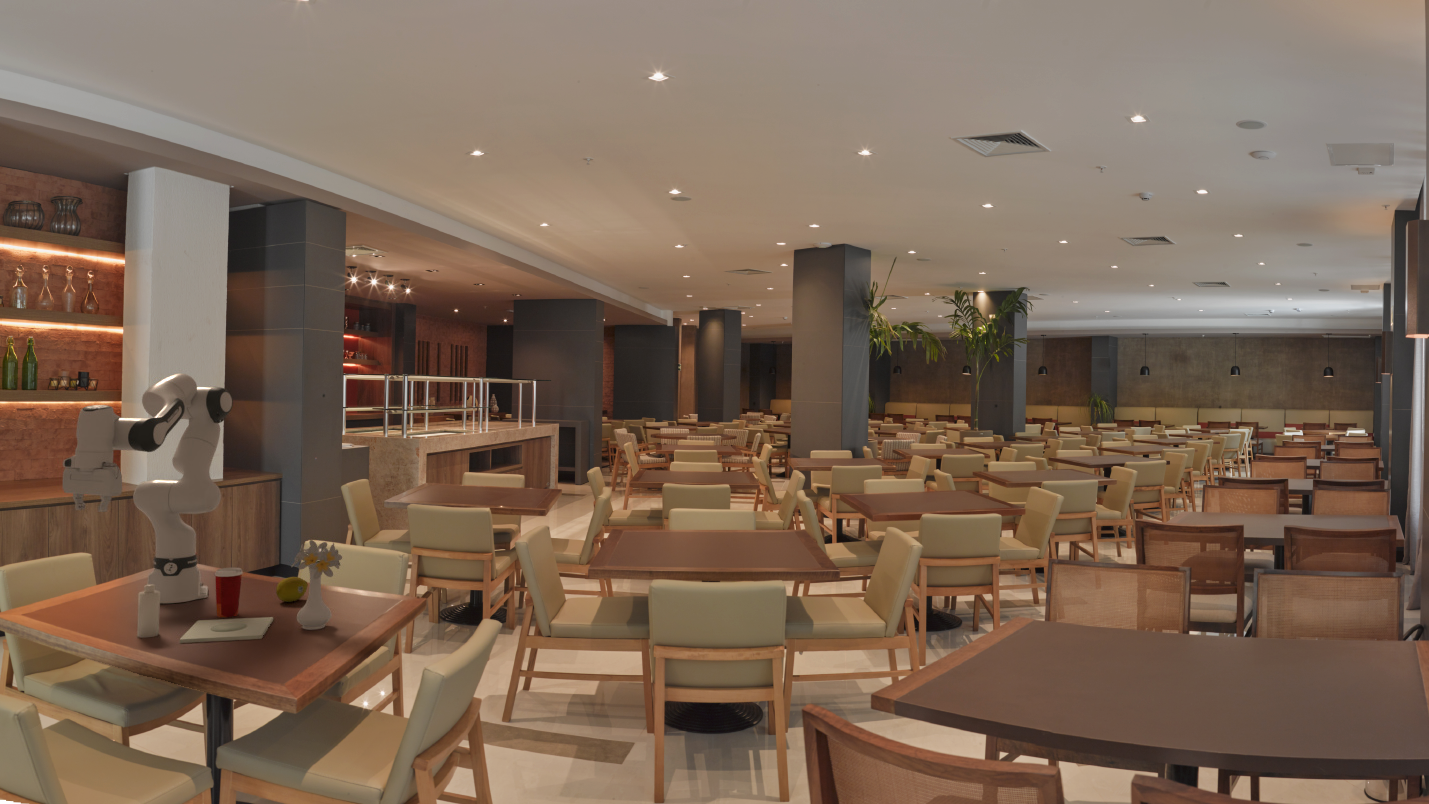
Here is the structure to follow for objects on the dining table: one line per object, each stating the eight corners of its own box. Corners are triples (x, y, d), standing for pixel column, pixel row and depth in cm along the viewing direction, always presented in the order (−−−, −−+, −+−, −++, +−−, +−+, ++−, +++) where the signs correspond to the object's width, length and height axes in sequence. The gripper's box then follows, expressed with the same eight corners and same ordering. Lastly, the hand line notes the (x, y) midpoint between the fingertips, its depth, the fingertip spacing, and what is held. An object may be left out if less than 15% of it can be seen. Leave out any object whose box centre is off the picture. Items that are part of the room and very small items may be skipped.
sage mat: (197, 623, 251) (197, 619, 251) (273, 620, 258) (273, 616, 258) (179, 643, 232) (179, 638, 232) (261, 638, 239) (261, 634, 239)
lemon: (281, 606, 275) (282, 581, 274) (269, 602, 279) (270, 577, 279) (314, 600, 283) (314, 576, 283) (301, 596, 288) (302, 572, 288)
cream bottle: (140, 633, 240) (141, 583, 240) (160, 632, 242) (162, 582, 242) (134, 638, 235) (136, 587, 235) (155, 637, 237) (157, 586, 237)
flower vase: (306, 638, 241) (309, 549, 241) (280, 625, 253) (283, 540, 253) (352, 630, 250) (354, 545, 250) (325, 617, 263) (327, 536, 263)
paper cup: (247, 612, 265) (248, 567, 265) (230, 619, 258) (232, 572, 258) (223, 611, 266) (225, 566, 266) (206, 617, 258) (208, 571, 258)
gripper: (130, 462, 242) (127, 511, 242) (81, 460, 250) (79, 507, 249) (107, 463, 236) (104, 513, 236) (58, 460, 244) (56, 509, 243)
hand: (91, 510), depth 242 cm, fingers open, 8 cm apart
